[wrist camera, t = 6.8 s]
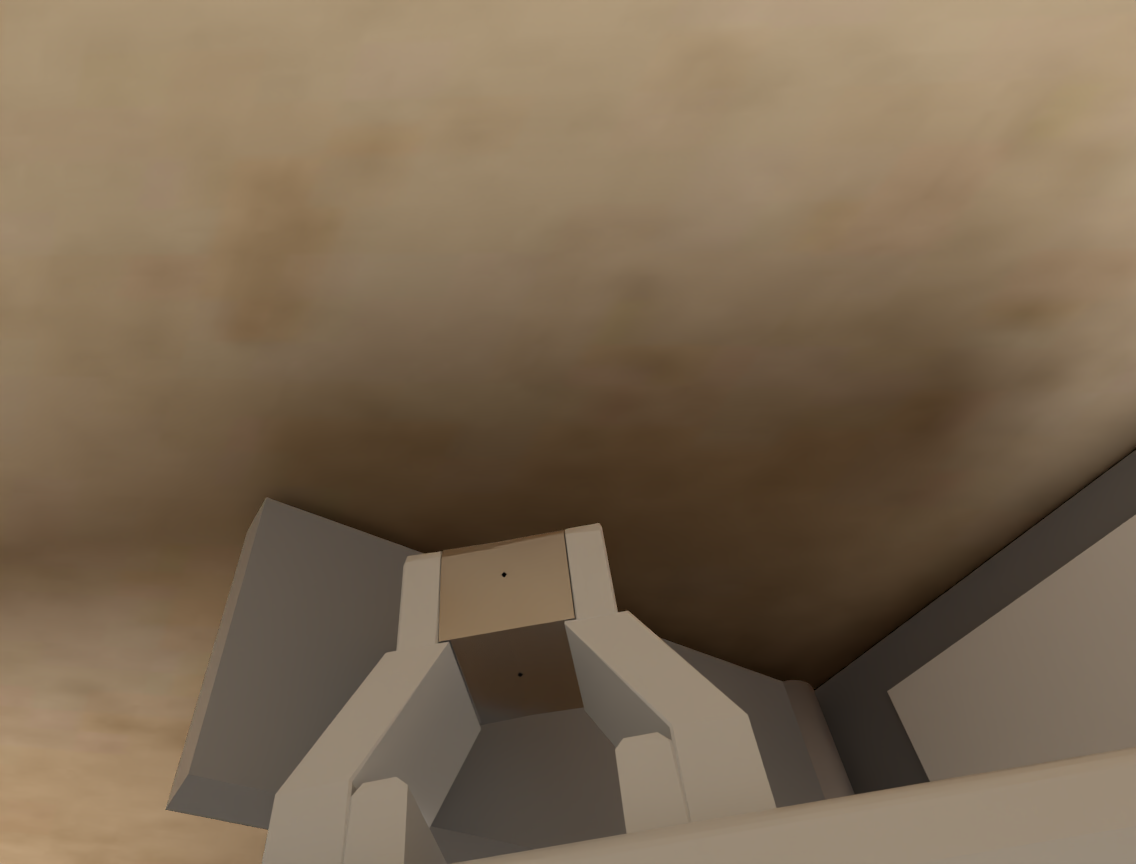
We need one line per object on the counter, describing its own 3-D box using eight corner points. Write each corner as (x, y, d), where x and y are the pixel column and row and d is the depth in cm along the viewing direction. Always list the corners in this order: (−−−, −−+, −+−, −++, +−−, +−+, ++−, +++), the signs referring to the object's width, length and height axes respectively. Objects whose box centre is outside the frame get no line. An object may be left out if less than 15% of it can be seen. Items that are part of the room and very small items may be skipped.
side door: (271, 488, 13) (185, 798, 9) (825, 689, 17) (931, 950, 13) (232, 558, 14) (136, 872, 10) (772, 732, 18) (858, 991, 14)
